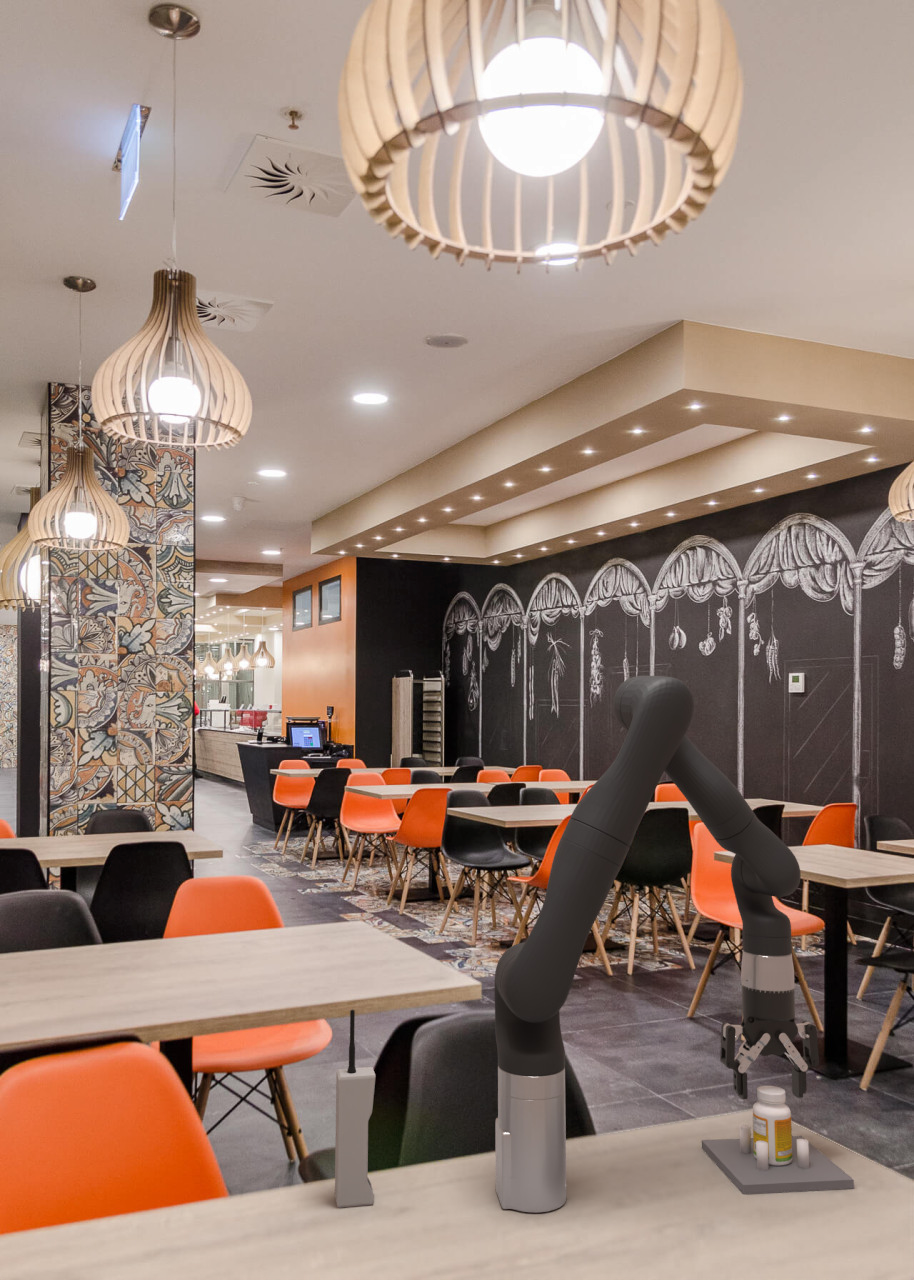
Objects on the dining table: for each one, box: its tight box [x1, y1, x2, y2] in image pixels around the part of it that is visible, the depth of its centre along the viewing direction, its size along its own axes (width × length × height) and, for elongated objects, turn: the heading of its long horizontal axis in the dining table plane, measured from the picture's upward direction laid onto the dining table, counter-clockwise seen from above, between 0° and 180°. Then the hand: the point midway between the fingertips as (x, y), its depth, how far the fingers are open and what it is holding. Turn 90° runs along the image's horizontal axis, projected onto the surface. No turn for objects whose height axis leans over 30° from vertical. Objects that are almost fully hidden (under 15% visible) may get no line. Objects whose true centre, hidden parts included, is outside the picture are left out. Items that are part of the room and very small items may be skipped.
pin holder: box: [701, 1124, 855, 1195], centre depth 146 cm, size 16×16×5 cm
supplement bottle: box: [752, 1085, 793, 1166], centre depth 146 cm, size 5×5×10 cm
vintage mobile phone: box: [334, 1009, 377, 1209], centre depth 136 cm, size 4×5×25 cm
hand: (770, 1096), depth 147 cm, fingers open, 8 cm apart
